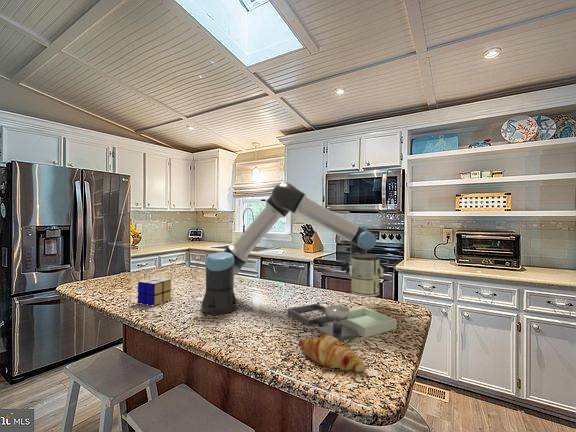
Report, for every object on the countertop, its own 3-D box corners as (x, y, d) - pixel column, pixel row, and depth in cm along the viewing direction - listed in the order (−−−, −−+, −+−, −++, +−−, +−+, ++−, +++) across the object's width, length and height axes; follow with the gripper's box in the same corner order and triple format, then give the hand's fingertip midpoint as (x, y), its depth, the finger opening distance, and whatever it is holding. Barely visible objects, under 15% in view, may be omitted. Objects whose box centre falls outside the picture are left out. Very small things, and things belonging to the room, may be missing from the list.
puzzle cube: (137, 303, 128) (137, 281, 128) (155, 298, 137) (155, 277, 137) (153, 306, 124) (154, 283, 124) (171, 300, 134) (171, 279, 134)
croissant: (369, 382, 76) (375, 351, 79) (355, 380, 69) (363, 345, 72) (303, 356, 89) (311, 329, 92) (286, 351, 82) (295, 323, 85)
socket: (308, 325, 105) (308, 320, 105) (287, 313, 118) (287, 308, 118) (339, 318, 113) (340, 313, 113) (316, 308, 126) (317, 303, 126)
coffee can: (349, 288, 112) (349, 252, 112) (376, 289, 111) (376, 253, 111) (352, 296, 102) (353, 256, 102) (382, 297, 101) (382, 257, 101)
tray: (364, 337, 95) (365, 327, 95) (333, 322, 109) (333, 313, 109) (396, 328, 104) (396, 319, 104) (363, 315, 117) (363, 307, 117)
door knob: (335, 342, 92) (335, 315, 92) (308, 326, 104) (308, 303, 104) (358, 336, 97) (358, 310, 97) (329, 321, 110) (330, 299, 110)
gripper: (387, 272, 122) (399, 284, 100) (334, 269, 126) (334, 281, 104) (387, 254, 122) (399, 263, 100) (334, 252, 126) (334, 260, 104)
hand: (366, 272), depth 102 cm, fingers closed on coffee can, 10 cm apart
